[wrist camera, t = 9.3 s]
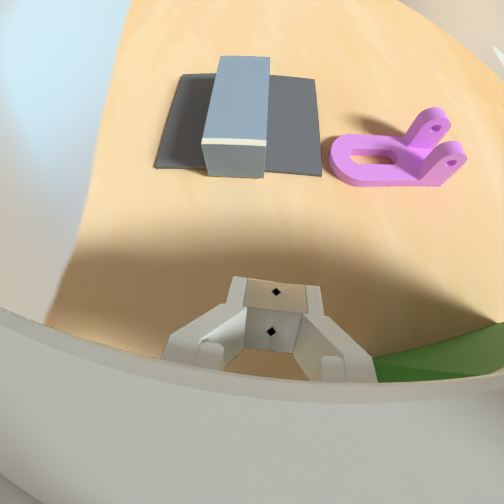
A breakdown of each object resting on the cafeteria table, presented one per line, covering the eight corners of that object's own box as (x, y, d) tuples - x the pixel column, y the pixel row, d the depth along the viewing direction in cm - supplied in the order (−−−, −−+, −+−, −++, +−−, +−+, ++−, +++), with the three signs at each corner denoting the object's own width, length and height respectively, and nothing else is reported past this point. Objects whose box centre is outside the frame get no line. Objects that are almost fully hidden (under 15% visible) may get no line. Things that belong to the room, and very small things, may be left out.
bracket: (423, 145, 29) (450, 110, 22) (439, 187, 27) (472, 155, 21) (322, 141, 29) (338, 95, 22) (334, 188, 27) (357, 146, 20)
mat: (321, 176, 27) (322, 174, 27) (156, 168, 27) (155, 166, 27) (313, 81, 31) (314, 79, 31) (183, 76, 31) (182, 74, 31)
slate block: (266, 146, 22) (270, 57, 25) (201, 143, 22) (220, 55, 25) (263, 178, 27) (268, 90, 30) (208, 175, 27) (223, 88, 30)
